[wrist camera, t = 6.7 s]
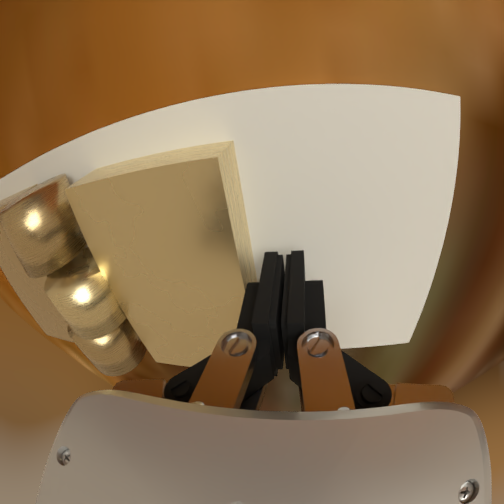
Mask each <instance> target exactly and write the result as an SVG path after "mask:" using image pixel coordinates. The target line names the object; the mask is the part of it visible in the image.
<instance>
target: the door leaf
mask: <svg viewBox="0 0 504 504" xmlns="http://www.w3.org/2000/svg"><path fill="white" fill-rule="evenodd" d="M65 192H66V195H67V197H68V200H69V203H70V205H71V208H72V210H73V213H74V215H75V217H76V220H77V222H78V224H79V227H80V229H81V231H82V234H83V236H84V238H85V240H86V242H87V245H88V247H87V248H84V249H83V250H82V251H81V252H80V253H79V254H78V255H77V256H76V257H75V258H73V259H72V260H71V261H70V262H68V263H67V264H66V265H64V266H63V267H61V268H60V269H58V270H56V271H55V272H53V273H51V274H49V275H48V277H47V279H46V281H45V285H44V290H45V292H46V294H47V295H48V297H49V298H50V300H51V301H52V303H53V304H54V306H55V307H56V309H57V310H58V312H59V313H60V315H61V316H62V317H63V319H64V320H65V321H66V323H67V324H68V326H69V327H70V328H71V330H72V331H73V332H74V333H75V335H76V336H78V337H79V338H81V339H86V340H92V339H97V338H100V337H103V336H105V335H107V334H109V333H111V332H112V331H114V330H115V329H116V328H117V327H118V326H120V325H121V323H122V322H123V321H124V320H125V319H126V317H127V319H128V320H129V322H130V324H131V325H132V327H133V328H134V330H135V331H136V333H137V335H138V336H139V338H140V339H141V341H142V342H143V344H144V345H145V347H146V348H147V350H148V351H149V353H150V354H151V355H152V357H153V358H154V360H155V361H156V362H159V363H166V364H173V365H180V366H188V367H191V366H193V365H195V364H196V363H198V362H200V361H201V360H203V359H204V358H206V357H208V356H209V355H211V354H212V352H213V350H214V348H215V346H216V344H217V341H218V340H219V338H220V337H221V336H222V335H223V334H224V333H225V332H227V331H230V330H233V329H236V328H237V324H238V320H239V316H240V311H241V307H242V303H243V299H244V294H245V290H246V286H247V283H248V282H257V276H256V270H255V264H254V258H253V252H252V247H251V241H250V235H249V229H248V223H247V217H246V211H245V205H244V200H243V194H242V188H241V182H240V176H239V170H238V164H237V159H236V153H235V147H234V141H233V140H232V141H225V142H217V143H211V144H204V145H198V146H192V147H187V148H181V149H176V150H171V151H166V152H161V153H156V154H152V155H147V156H143V157H139V158H135V159H131V160H127V161H123V162H119V163H115V164H111V165H108V166H104V167H101V168H97V169H95V170H93V171H92V172H90V173H88V174H87V175H85V176H84V177H82V178H81V179H79V180H78V181H76V182H75V183H73V184H72V185H70V186H69V187H68V188H66V189H65Z"/></svg>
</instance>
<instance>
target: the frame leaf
mask: <svg viewBox="0 0 504 504" xmlns="http://www.w3.org/2000/svg"><path fill="white" fill-rule="evenodd" d="M69 186H70V185H69V182H68V179H67V176H66V174H60V175H58V176H55V177H53V178H50V179H48V180H46V181H44V182H42V183H40V184H39V185H38V184H35V185H33V186H31V187H28V188H26V189H24V190H22V191H20V192H17V193H15V194H13V195H11V196H9V197H7V198H5V199H3V200H1V201H0V267H1V269H2V271H3V272H4V274H5V276H6V277H7V279H8V281H9V282H10V284H11V286H12V287H13V289H14V290H15V292H16V293H17V295H18V296H19V298H20V299H21V301H22V302H23V304H24V305H25V307H26V308H27V309H28V311H29V312H30V314H31V315H32V316H33V318H34V319H35V320H36V322H37V323H38V324H39V326H40V327H41V328H42V329H43V331H44V332H45V333H46V334H47V335H49V336H53V337H56V338H60V339H63V340H67V341H70V342H74V343H75V344H76V345H77V346H78V347H79V348H80V350H81V351H82V352H83V353H84V354H85V355H86V357H87V358H88V359H89V360H90V361H91V362H92V363H93V364H94V366H95V367H96V368H97V369H98V370H99V371H100V372H101V373H103V374H105V375H108V376H120V375H123V374H126V373H128V372H130V371H131V370H133V369H134V368H135V367H136V366H137V365H138V364H139V363H140V362H141V360H142V359H143V357H144V355H145V352H146V347H145V345H144V344H143V342H142V341H141V339H140V338H139V336H138V335H137V333H136V331H135V330H134V328H133V327H132V325H131V324H130V322H129V320H128V319H127V317H126V319H125V320H124V321H123V322H122V323H121V325H120V326H118V327H117V328H116V329H115V330H114V331H112V332H111V333H109V334H107V335H105V336H103V337H100V338H97V339H92V340H86V339H81V338H79V337H78V336H76V335H75V333H74V332H73V331H72V330H71V328H70V327H69V326H68V324H67V323H66V321H65V320H64V319H63V317H62V316H61V315H60V313H59V312H58V310H57V309H56V307H55V306H54V304H53V303H52V301H51V300H50V298H49V297H48V295H47V294H46V292H45V290H44V285H45V281H46V279H47V277H48V275H49V274H51V273H53V272H55V271H56V270H58V269H60V268H61V267H63V266H64V265H66V264H67V263H68V262H70V261H71V260H72V259H73V258H75V257H76V256H77V255H78V254H79V253H80V252H81V251H82V250H83V248H84V247H85V246H86V245H87V242H86V240H85V238H84V236H83V234H82V231H81V229H80V227H79V224H78V222H77V220H76V217H75V215H74V213H73V210H72V208H71V205H70V203H69V200H68V197H67V195H66V192H65V189H66V188H68V187H69Z"/></svg>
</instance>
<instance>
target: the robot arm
mask: <svg viewBox="0 0 504 504" xmlns="http://www.w3.org/2000/svg"><path fill="white" fill-rule="evenodd" d="M284 354H285V363H286V369H289V374H290V379H291V380H292V381H293V382H294V383H295V384H297V385H298V386H299V394H300V403H301V412H280V411H259V410H260V407H261V404H262V401H263V397H264V394H265V391H266V387H267V383H268V382H270V381H271V380H272V379H274V376H277V373H278V369H283V360H284ZM36 504H491V466H490V458H489V451H488V445H487V440H486V436H485V432H484V429H483V426H482V423H481V421H480V419H479V417H478V416H477V414H476V413H475V412H474V411H473V410H471V409H470V408H468V407H465V406H463V405H459V404H455V403H454V396H453V393H452V392H451V390H450V389H449V388H447V387H446V386H442V385H424V384H407V383H397V384H396V385H391V384H387V383H386V382H385V381H384V380H383V379H381V378H380V377H378V376H377V375H376V374H374V373H373V372H371V371H370V370H368V369H367V368H366V367H364V366H363V365H361V364H360V363H359V362H357V361H356V360H354V359H353V358H351V357H350V356H349V355H347V354H346V353H344V352H343V351H342V350H341V348H340V345H339V341H338V339H337V337H336V335H335V334H334V333H333V332H331V331H329V330H327V329H326V316H325V301H324V288H323V280H309V281H305V262H304V250H297V251H291V254H286V266H285V269H284V260H283V255H278V251H276V252H265V253H264V258H263V264H262V269H261V275H260V280H259V282H248V283H247V286H246V290H245V294H244V299H243V303H242V307H241V311H240V316H239V320H238V324H237V328H236V329H233V330H230V331H227V332H225V333H224V334H223V335H222V336H221V337H220V338H219V340H218V341H217V344H216V346H215V348H214V350H213V352H212V354H211V355H209V356H208V357H206V358H204V359H203V360H201V361H200V362H198V363H196V364H195V365H193V366H191V367H190V368H188V369H186V370H185V371H183V372H181V373H179V374H178V375H176V376H174V377H173V378H172V379H170V380H169V381H165V380H164V379H148V380H123V381H120V382H118V383H117V384H116V385H115V386H114V387H113V389H112V390H98V391H93V392H89V393H86V394H84V395H82V396H80V397H79V398H78V399H77V400H76V401H75V402H74V403H73V405H72V406H71V408H70V409H69V411H68V413H67V415H66V417H65V419H64V420H63V422H62V425H61V427H60V429H59V431H58V434H57V436H56V438H55V441H54V443H53V446H52V449H51V452H50V454H49V458H48V460H47V463H46V467H45V469H44V473H43V476H42V480H41V484H40V488H39V492H38V495H37V500H36Z"/></svg>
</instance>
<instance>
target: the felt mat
mask: <svg viewBox="0 0 504 504" xmlns="http://www.w3.org/2000/svg"><path fill="white" fill-rule="evenodd" d="M459 138H460V97H459V96H455V95H450V94H445V93H439V92H433V91H427V90H420V89H413V88H404V87H394V86H382V85H365V84H312V85H294V86H282V87H271V88H262V89H254V90H247V91H240V92H234V93H228V94H222V95H217V96H211V97H206V98H202V99H197V100H192V101H188V102H184V103H180V104H176V105H172V106H168V107H164V108H161V109H157V110H154V111H150V112H147V113H144V114H141V115H137V116H134V117H131V118H128V119H125V120H122V121H120V122H117V123H114V124H111V125H109V126H106V127H103V128H101V129H98V130H96V131H93V132H91V133H88V134H86V135H84V136H81V137H79V138H77V139H74V140H72V141H70V142H68V143H66V144H63V145H61V146H59V147H57V148H55V149H53V150H51V151H49V152H47V153H45V154H43V155H41V156H39V157H37V158H36V159H34V160H32V161H30V162H28V163H27V164H25V165H23V166H21V167H20V168H18V169H16V170H15V171H13V172H11V173H10V174H8V175H6V176H5V177H3V178H2V179H0V201H1V200H3V199H5V198H7V197H9V196H11V195H13V194H15V193H17V192H20V191H22V190H24V189H26V188H28V187H31V186H33V185H35V184H38V185H39V184H40V183H42V182H44V181H46V180H48V179H50V178H53V177H55V176H58V175H60V174H66V176H67V179H68V182H69V185H72V184H73V183H75V182H76V181H78V180H79V179H81V178H82V177H84V176H85V175H87V174H88V173H90V172H92V171H93V170H95V169H97V168H101V167H104V166H108V165H111V164H115V163H119V162H123V161H127V160H131V159H135V158H139V157H143V156H147V155H152V154H156V153H161V152H166V151H171V150H176V149H181V148H187V147H192V146H198V145H204V144H211V143H217V142H225V141H232V140H233V141H234V147H235V153H236V159H237V164H238V170H239V176H240V182H241V188H242V194H243V200H244V205H245V211H246V217H247V223H248V229H249V235H250V241H251V247H252V252H253V258H254V264H255V270H256V276H257V282H259V280H260V275H261V269H262V264H263V258H264V253H265V252H276V251H278V255H283V260H284V269H285V266H286V254H291V251H297V250H304V262H305V281H309V280H323V288H324V301H325V316H326V329H327V330H329V331H331V332H333V333H334V334H335V335H336V337H337V339H338V341H339V345H340V348H341V349H342V348H358V347H371V346H382V345H391V344H400V343H408V342H409V341H410V338H411V336H412V334H413V331H414V329H415V327H416V324H417V322H418V319H419V317H420V314H421V312H422V309H423V306H424V304H425V301H426V298H427V295H428V292H429V290H430V287H431V284H432V280H433V277H434V274H435V271H436V268H437V264H438V261H439V257H440V253H441V250H442V246H443V242H444V238H445V234H446V229H447V225H448V220H449V215H450V210H451V205H452V199H453V193H454V187H455V180H456V172H457V163H458V152H459ZM87 247H88V245H86V246H85V247H84V248H87ZM84 248H83V249H84Z"/></svg>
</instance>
